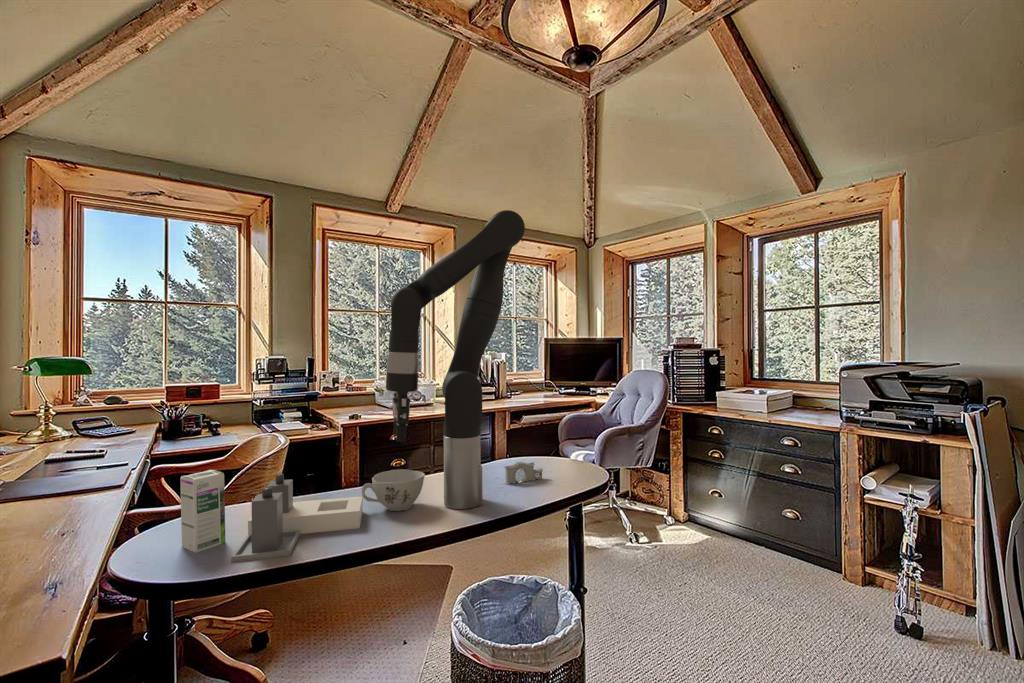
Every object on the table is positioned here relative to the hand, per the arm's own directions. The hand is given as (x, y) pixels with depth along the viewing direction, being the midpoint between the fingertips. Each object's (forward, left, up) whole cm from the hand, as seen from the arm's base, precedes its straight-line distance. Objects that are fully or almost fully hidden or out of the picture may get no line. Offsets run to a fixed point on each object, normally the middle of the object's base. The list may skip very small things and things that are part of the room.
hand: (399, 438), depth 114 cm
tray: (+26, +15, -18) cm, 34 cm away
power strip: (+20, +4, -18) cm, 27 cm away
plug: (+26, +15, -17) cm, 34 cm away
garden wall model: (-35, -15, -18) cm, 42 cm away
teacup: (+2, -2, -18) cm, 18 cm away
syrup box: (+39, +10, -18) cm, 44 cm away
